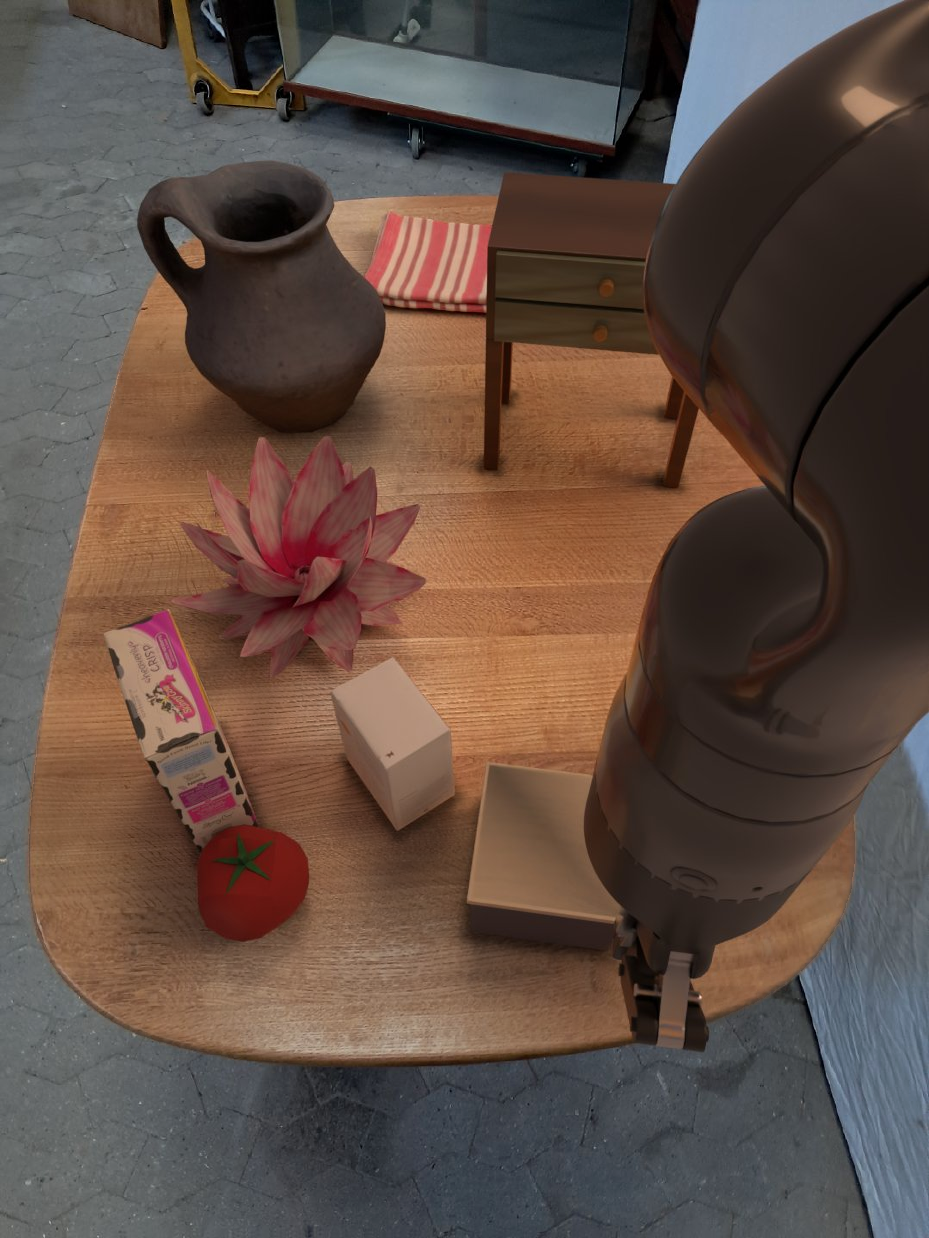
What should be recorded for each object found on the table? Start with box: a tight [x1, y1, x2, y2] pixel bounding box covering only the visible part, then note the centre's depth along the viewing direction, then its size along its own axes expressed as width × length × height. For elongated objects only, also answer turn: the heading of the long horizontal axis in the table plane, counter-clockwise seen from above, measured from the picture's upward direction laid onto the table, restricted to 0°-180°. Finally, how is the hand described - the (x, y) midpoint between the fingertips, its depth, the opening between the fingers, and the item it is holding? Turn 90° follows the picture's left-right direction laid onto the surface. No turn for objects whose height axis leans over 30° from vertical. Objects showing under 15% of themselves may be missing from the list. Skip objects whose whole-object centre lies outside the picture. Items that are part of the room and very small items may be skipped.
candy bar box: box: [103, 609, 260, 855], centre depth 66 cm, size 11×5×16 cm, turn 27°
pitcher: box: [136, 160, 387, 434], centre depth 90 cm, size 21×22×25 cm
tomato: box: [196, 824, 310, 943], centre depth 64 cm, size 8×8×7 cm
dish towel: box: [363, 210, 492, 314], centre depth 113 cm, size 17×23×4 cm
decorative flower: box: [170, 435, 427, 680], centre depth 77 cm, size 21×21×15 cm
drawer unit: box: [483, 171, 700, 489], centre depth 86 cm, size 13×20×25 cm
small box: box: [329, 656, 456, 832], centre depth 69 cm, size 8×6×10 cm
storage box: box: [466, 761, 617, 952], centre depth 65 cm, size 10×10×7 cm
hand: (635, 945), depth 42 cm, fingers closed
